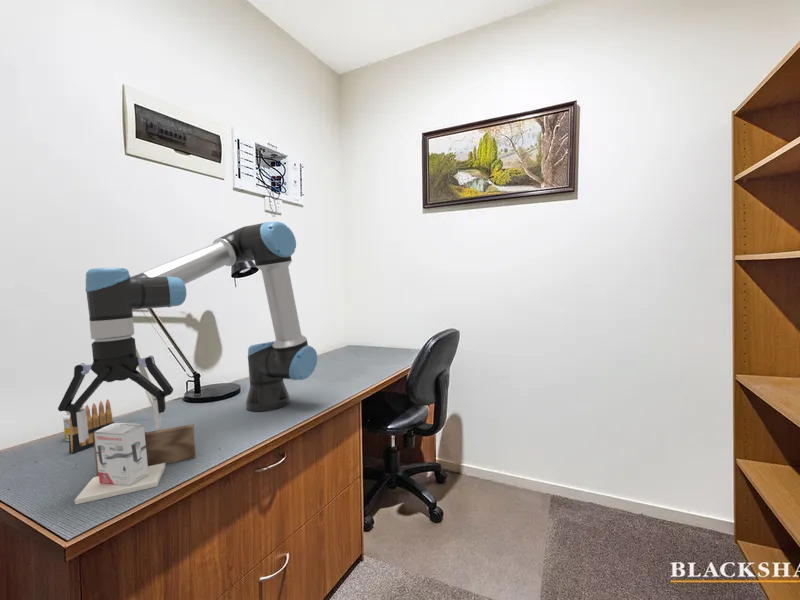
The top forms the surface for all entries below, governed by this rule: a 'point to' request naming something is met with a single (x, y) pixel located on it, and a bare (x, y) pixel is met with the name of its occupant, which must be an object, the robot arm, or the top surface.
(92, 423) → the ammunition clip
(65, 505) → the top surface
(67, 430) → the supplement bottle
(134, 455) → the ink box
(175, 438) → the walnut screen
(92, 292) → the robot arm
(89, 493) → the pad
